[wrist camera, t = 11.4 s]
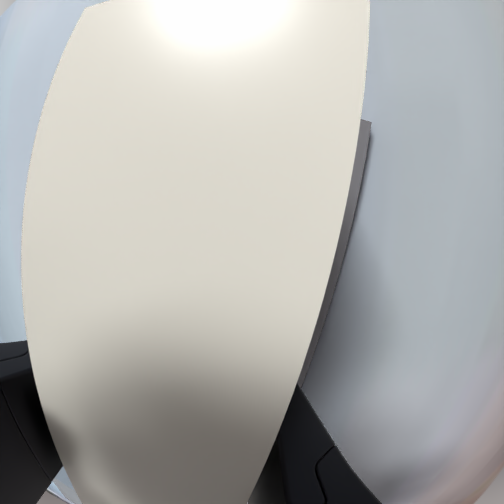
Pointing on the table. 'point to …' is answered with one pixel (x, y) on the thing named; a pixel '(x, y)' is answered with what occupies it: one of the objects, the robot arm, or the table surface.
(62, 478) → the grey square block
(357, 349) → the table surface
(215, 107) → the bar
